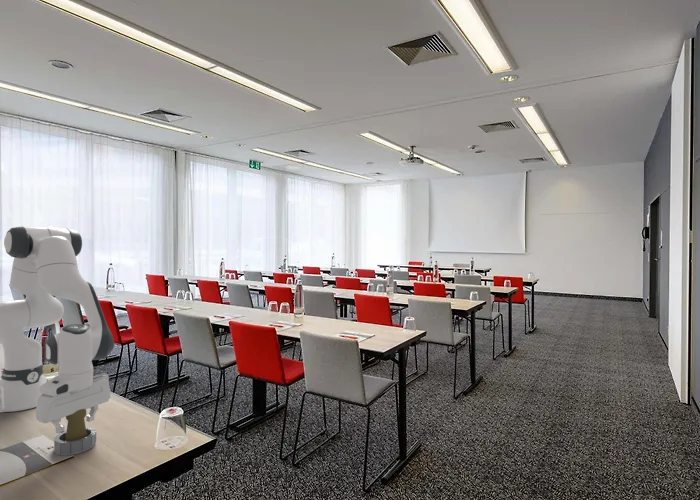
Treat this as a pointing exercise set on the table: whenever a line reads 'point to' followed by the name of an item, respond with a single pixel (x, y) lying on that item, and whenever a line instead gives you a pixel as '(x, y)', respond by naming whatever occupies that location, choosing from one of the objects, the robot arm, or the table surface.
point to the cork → (76, 426)
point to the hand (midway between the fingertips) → (75, 426)
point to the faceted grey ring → (74, 443)
